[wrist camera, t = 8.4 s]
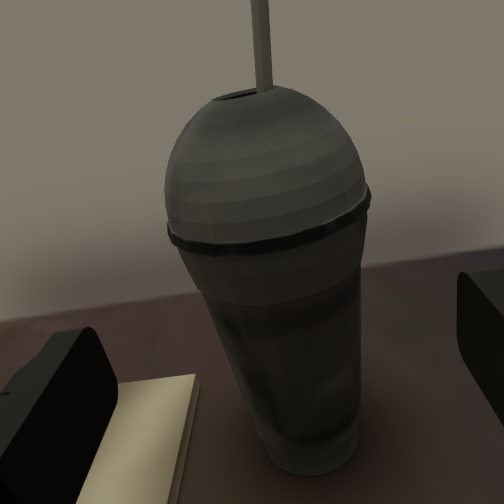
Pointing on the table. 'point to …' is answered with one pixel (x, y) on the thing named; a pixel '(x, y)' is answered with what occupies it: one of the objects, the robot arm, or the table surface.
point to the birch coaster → (144, 444)
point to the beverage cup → (278, 257)
